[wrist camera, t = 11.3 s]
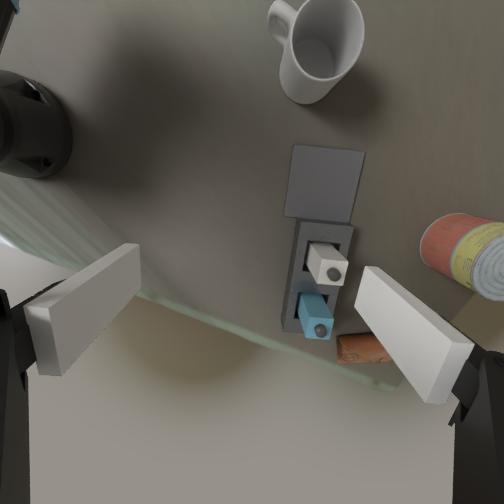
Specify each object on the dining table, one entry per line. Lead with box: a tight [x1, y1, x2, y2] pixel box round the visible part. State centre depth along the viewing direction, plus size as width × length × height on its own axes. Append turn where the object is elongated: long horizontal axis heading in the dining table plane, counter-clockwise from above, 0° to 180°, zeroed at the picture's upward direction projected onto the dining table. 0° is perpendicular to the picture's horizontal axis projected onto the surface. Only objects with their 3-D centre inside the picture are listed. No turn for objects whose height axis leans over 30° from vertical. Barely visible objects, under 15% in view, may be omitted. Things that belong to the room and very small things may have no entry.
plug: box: [296, 292, 334, 340], centre depth 44 cm, size 4×4×11 cm
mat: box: [284, 144, 365, 222], centre depth 43 cm, size 12×12×1 cm
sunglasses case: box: [336, 332, 393, 364], centre depth 53 cm, size 18×7×7 cm
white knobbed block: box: [304, 240, 348, 286], centre depth 41 cm, size 4×4×11 cm
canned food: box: [419, 213, 504, 301], centre depth 41 cm, size 11×11×12 cm
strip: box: [281, 217, 354, 333], centre depth 47 cm, size 22×9×4 cm, turn 174°
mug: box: [267, 0, 365, 104], centre depth 32 cm, size 12×8×11 cm
